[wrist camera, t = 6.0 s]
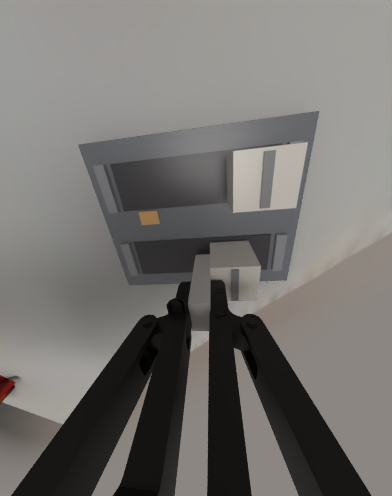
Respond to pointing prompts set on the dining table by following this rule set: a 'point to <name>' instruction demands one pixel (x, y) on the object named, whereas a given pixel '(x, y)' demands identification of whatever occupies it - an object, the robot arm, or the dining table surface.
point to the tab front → (265, 177)
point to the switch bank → (191, 197)
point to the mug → (5, 387)
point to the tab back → (236, 269)
